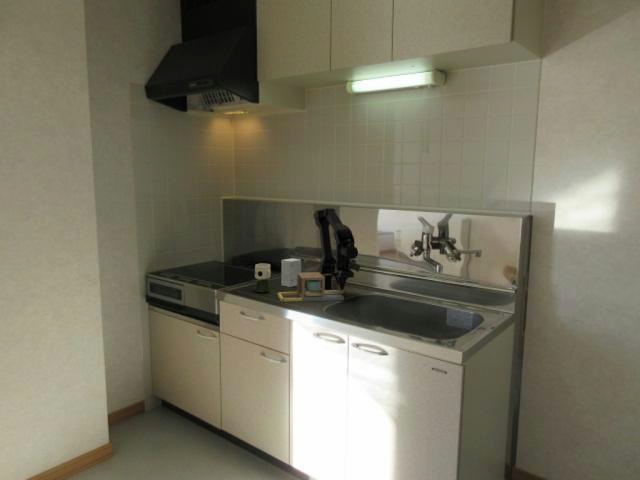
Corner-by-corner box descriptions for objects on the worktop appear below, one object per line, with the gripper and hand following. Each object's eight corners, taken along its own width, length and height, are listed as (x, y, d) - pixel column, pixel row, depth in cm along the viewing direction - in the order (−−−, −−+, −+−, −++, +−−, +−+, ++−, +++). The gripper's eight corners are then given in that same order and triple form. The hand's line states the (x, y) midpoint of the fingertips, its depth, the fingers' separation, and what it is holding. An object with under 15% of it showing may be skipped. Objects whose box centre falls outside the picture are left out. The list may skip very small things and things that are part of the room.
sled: (303, 291, 212) (303, 278, 212) (340, 290, 217) (341, 277, 216) (306, 296, 205) (307, 282, 204) (345, 294, 209) (346, 281, 208)
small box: (292, 282, 239) (292, 257, 238) (301, 284, 235) (301, 259, 234) (280, 285, 233) (281, 259, 232) (289, 287, 229) (290, 261, 228)
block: (307, 290, 211) (307, 279, 210) (317, 290, 212) (317, 279, 212) (309, 293, 206) (309, 282, 206) (320, 292, 207) (320, 281, 207)
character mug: (249, 291, 219) (249, 264, 217) (260, 288, 224) (261, 262, 223) (264, 295, 212) (264, 267, 210) (275, 292, 217) (276, 265, 215)
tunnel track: (277, 295, 212) (277, 273, 210) (336, 293, 218) (337, 271, 217) (281, 302, 200) (282, 278, 199) (343, 299, 207) (344, 276, 206)
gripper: (365, 258, 203) (364, 293, 205) (353, 252, 221) (351, 284, 223) (341, 259, 201) (340, 294, 203) (330, 252, 219) (329, 284, 221)
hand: (341, 289), depth 212 cm, fingers closed on sled, 2 cm apart
